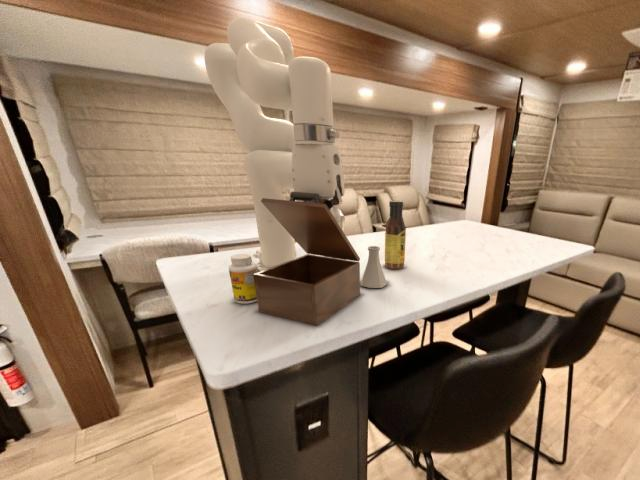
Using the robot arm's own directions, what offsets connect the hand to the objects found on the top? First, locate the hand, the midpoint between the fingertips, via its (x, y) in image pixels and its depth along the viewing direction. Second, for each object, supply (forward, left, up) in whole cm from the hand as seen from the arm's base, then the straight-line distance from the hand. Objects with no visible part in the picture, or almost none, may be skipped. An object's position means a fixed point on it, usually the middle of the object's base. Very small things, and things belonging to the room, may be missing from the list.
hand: (320, 231), depth 68 cm
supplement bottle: (-14, -9, -16) cm, 23 cm away
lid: (0, -2, 0) cm, 2 cm away
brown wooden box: (0, -4, -16) cm, 16 cm away
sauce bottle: (+6, +30, -16) cm, 34 cm away
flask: (+7, +13, -16) cm, 21 cm away
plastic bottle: (-10, +21, -16) cm, 28 cm away
